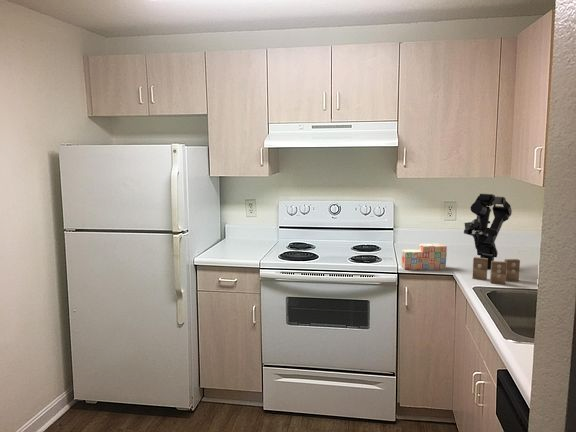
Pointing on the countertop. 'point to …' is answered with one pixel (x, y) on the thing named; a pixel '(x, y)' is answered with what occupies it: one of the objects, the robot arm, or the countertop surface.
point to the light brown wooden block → (498, 272)
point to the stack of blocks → (425, 257)
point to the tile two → (512, 269)
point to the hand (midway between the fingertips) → (477, 248)
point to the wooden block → (480, 268)
